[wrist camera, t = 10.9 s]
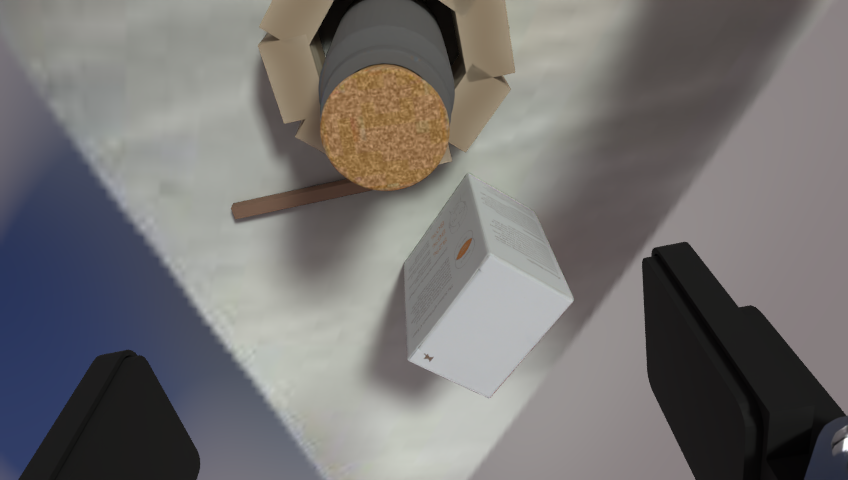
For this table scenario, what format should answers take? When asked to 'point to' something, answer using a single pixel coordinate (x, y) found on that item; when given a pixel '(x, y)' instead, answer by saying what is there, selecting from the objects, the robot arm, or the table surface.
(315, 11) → the segmented wooden ring
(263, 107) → the table surface
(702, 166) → the table surface
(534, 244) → the small box
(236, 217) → the brown wooden stick
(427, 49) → the bottle
